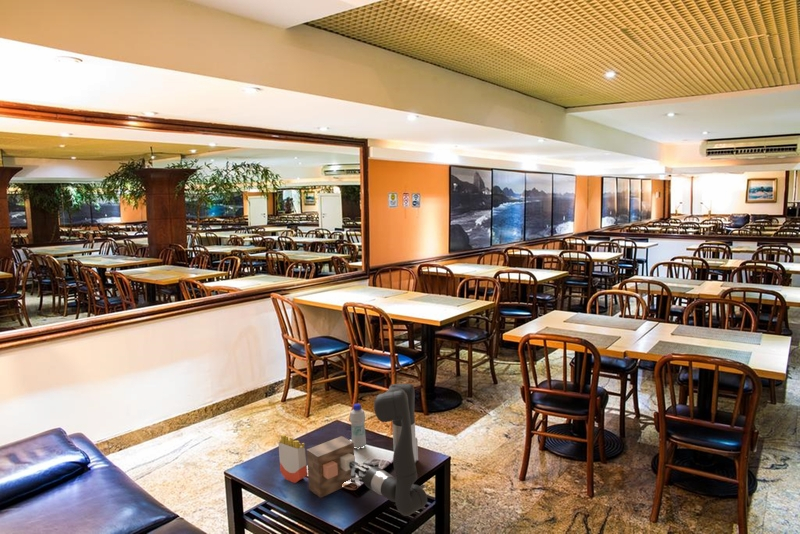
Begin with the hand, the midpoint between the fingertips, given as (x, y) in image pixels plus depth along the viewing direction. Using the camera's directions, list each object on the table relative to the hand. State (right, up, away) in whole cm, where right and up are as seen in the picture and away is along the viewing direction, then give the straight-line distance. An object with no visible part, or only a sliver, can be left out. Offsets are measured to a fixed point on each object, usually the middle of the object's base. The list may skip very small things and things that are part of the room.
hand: (351, 464), depth 198 cm
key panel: (-8, -10, +4) cm, 13 cm away
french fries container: (-23, -10, +10) cm, 27 cm away
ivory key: (-1, -2, +2) cm, 3 cm away
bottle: (0, -6, +35) cm, 35 cm away
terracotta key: (-8, -3, -3) cm, 9 cm away
